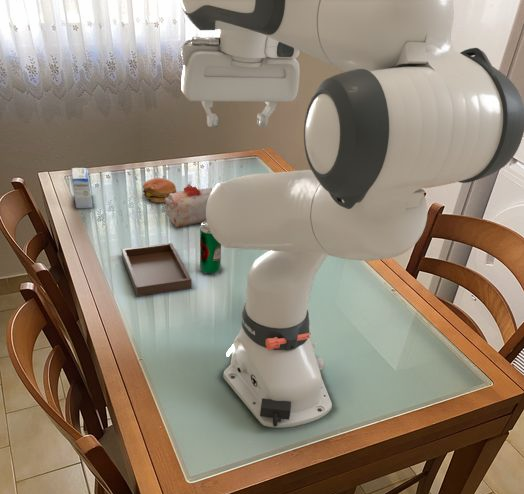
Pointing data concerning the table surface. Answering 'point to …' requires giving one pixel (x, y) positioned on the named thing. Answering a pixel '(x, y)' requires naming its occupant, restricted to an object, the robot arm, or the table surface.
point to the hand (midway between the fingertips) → (237, 125)
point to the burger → (158, 189)
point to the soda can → (209, 251)
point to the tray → (155, 269)
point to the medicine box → (81, 188)
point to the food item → (187, 206)
